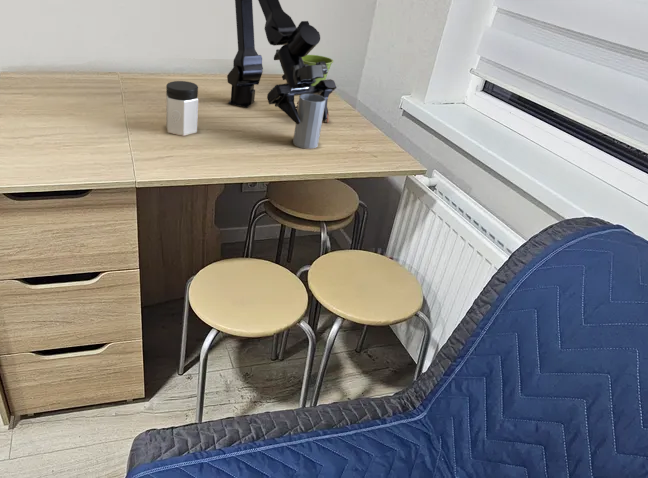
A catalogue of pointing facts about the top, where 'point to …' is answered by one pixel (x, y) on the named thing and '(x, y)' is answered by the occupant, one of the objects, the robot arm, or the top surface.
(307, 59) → the plant pot
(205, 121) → the top surface
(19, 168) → the top surface
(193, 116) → the jar
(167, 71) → the top surface
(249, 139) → the top surface
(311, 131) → the tumbler
